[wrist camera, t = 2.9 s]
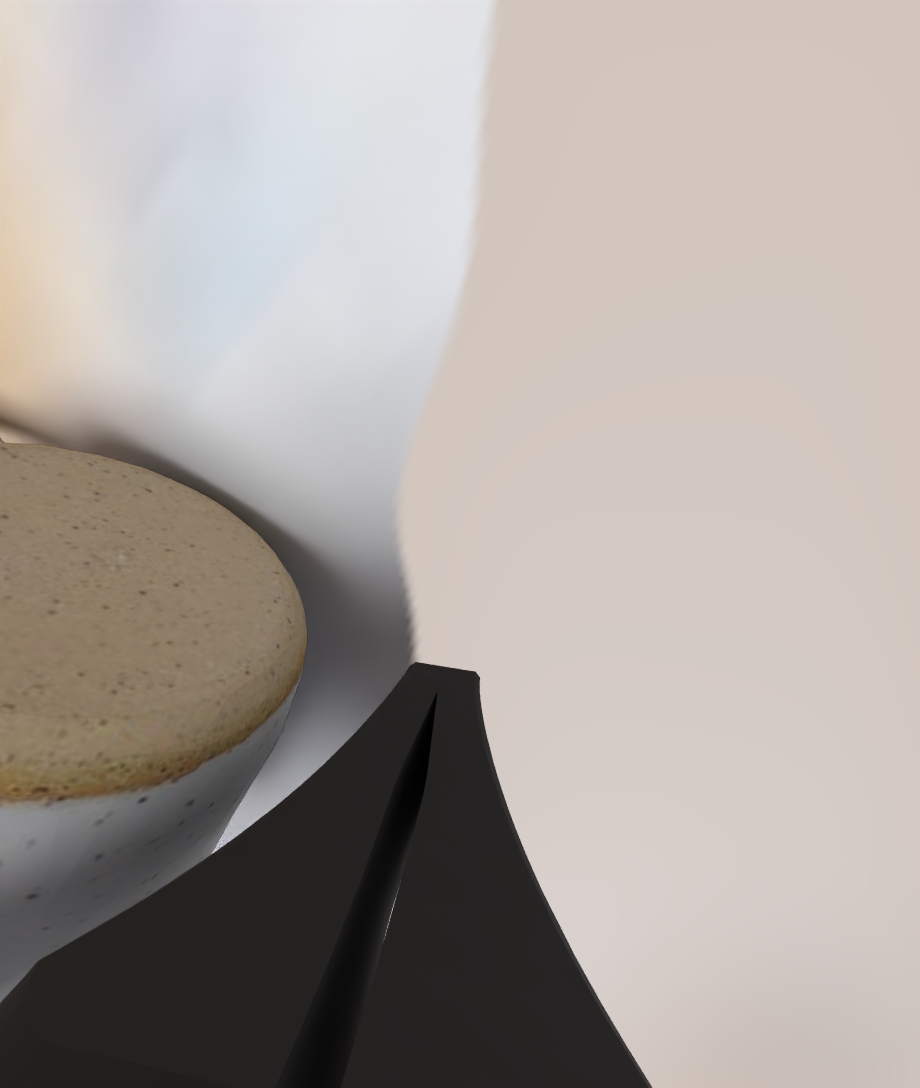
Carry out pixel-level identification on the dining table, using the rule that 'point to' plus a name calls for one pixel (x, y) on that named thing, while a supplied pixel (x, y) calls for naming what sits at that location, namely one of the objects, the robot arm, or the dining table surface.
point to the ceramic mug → (125, 687)
